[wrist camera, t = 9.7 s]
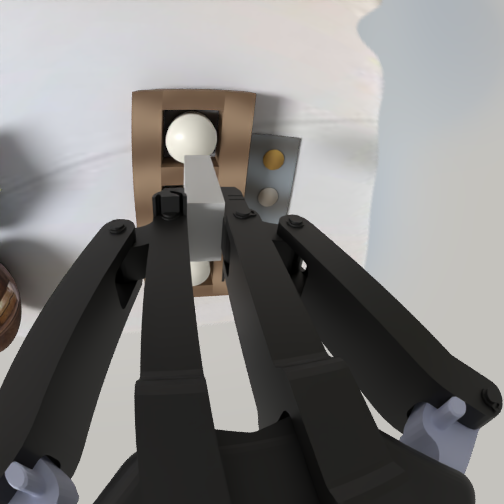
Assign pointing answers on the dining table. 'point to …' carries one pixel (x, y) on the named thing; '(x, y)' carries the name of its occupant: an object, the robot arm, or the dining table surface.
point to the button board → (212, 158)
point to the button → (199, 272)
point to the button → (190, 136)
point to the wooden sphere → (8, 308)
